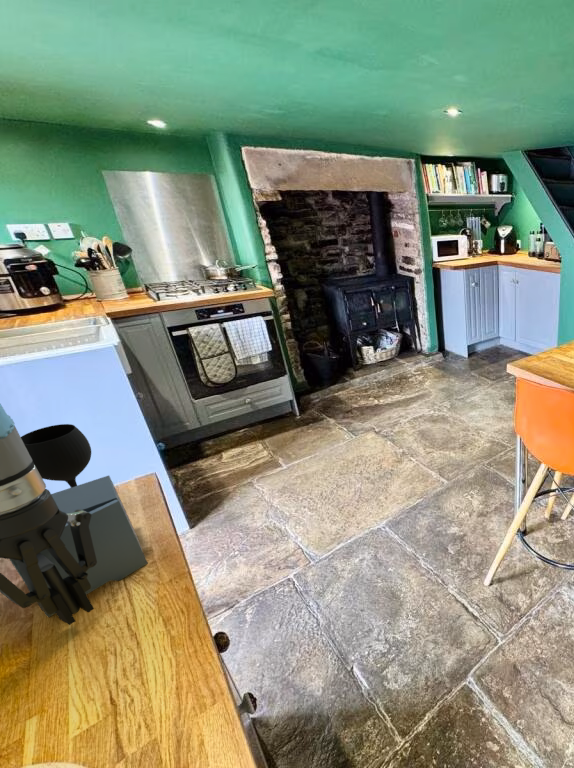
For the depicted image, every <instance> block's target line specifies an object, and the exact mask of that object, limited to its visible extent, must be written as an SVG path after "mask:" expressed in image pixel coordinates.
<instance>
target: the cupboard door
mask: <svg viewBox="0 0 574 768" xmlns="http://www.w3.org/2000/svg"><path fill="white" fill-rule="evenodd" d="M88 513H90V514H91V519H90V523H89V529H90V534H91V538H92V542H93V546H94V551H95V555H96V559H97V564H96V565H95V566H94V567H91V568H89V569H88V570H87V571H86V573H88V576H87V579H88V581H89V583H90V585H91V589H89V590H88V591H86V592H85V594H86V595H87V596H88V594H90V593H92V592H93V591H96V590H97V589H99V588H100V587H102V586H103V585H105V584H107V583H109V582H111V581H122V580H123V579H125V578H126V577H128V576H129V575H131V574H133V573H134V572H136V571H137V570H139V569H141V568H142V567H144V566H146V565H147V564H148V563H149V562H148V560H147V558H146V556H145V553H144V551H143V548H142V546H141V547H140V545H141V544H140V545H139V543H138V541H137V539H136V537H135V534H134V532H133V530H132V528H131V526H130V524H129V522H128V519H127V517H126V515H125V513H124V511H123V509H122V506H121V504H120V502H119V501H118V500H114V501H112V502H110V503H107V504H105V505H103V506H101V507H99V508H97V509H95V510H93V511H91V512H88ZM60 539H61V540H62V542H63V543H64V544H65V547H66V548H67V550H68V551H69V552H70V554H71V555H72V556H73V557H74V559H75V560H76V561H77V563H79V561H78V557H77V552H76V548H75V544H74V540H73V536H72V532H71V528H70V525H68V524H67V523H66V525H65V528H64V530H63V532H62V535H61V537H60ZM141 548H142V549H141ZM142 551H143V552H142ZM143 553H144V554H143ZM36 556H37V559H38V565H39V567H40V570H41V572H42V574H43V577H44V579H45V582H46V584H47V587H48V588H50V589H52V590H54V591H56V592H57V593H59V594H60V596H61V598H62V599H63V601H64V603H65V604H66V606H67V608H68V609H69V611H70V613H71V614H72V616H73V615H75V614H77V613H78V612H79V611H80V609H81V608H80V607H79V605H78V604H77V602H76V600H75V599H74V597H73V595H72V594H71V592H70V590H69V589H68V587H67V585H66V583H65V582H64V580H63V579H64V578H66V577H68V576H69V575H68V574H67V573H66V572H65V571H64V570H63V568H62V567H61V566H60V565H59V563H58V562H57V561H56V560H55V559H54V557H53V556H52V555H51V554H50V552H49V551H48V550H47V549H46V550H43V551H41V552H40V553H39V554H37V555H36ZM9 561H10V562H11V564H12V565H13V567H14V569H15V570H16V572H17V574H18V575H19V576H20V578H21V579H22V581H23V583H24V584H25V585H26V583H25V580H24V578H23V576H22V574H21V571H20V569H19V567H18V564H17V563H16V562H15V560H12V559H9ZM69 577H70V576H69ZM43 613H44V615H45V616H46V617H47V618H50V617H52V616H54V615H56V613H55V612H54V613H53V614H51V615H50V614H47V613H45V612H43Z"/></svg>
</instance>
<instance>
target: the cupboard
mask: <svg viewBox="0 0 574 768" xmlns="http://www.w3.org/2000/svg"><path fill="white" fill-rule="evenodd" d="M51 495H52V497H53V499H54V501H55V502H56V504H57V506H58V508H59V510H60V511H62V512H65V513H73V512H74V511H75V510H78V509H81V510H83V511H86V512H91V511H93V510H95V509H97V508H99V507H101V506H103V505H105V504H107V503H110V502H112V501H114V500H118V501H119V502H120V504H121V506H122V509H123V511H124V513H125V515H126V517H127V519H128V522H129V524H130V526H131V528H132V530H133V532H134V534H135V537H136V539H137V541H138V543H139V545H140V547H141V549H142V552H143V554H144V555H145V553H144V551H143V548H142V545H141V543H140V540H139V536H138V535H137V533H136V530H135V528H134V526H133V523H132V522H131V519H130V517H129V515H128V513H127V510H126V509H125V506H124V504H123V502H122V500H121V498H120V496H119V494H118V491H117V489H116V487H115V485H114V482H113V480H112V478H111V476H110V475H106V476H102V477H100V478H97V479H93V480H91V481H88V482H84V483H81V484H77V486H75V487H72V488H71V487H69V488H66V489H63V490H60V491H56V492H54V493H51Z"/></svg>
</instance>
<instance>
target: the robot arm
mask: <svg viewBox="0 0 574 768" xmlns="http://www.w3.org/2000/svg"><path fill="white" fill-rule="evenodd" d="M15 425H16V424H15V422H14V420H13V418H12V417H11V415H9V414H8V413H7V412H6V410H5V409H4V407H3V405H2V403H0V559H7V560H10V559H12V560H15V562H16V563H17V564H18V567H19V569H20V571H21V574H22V576H23V578H24V580H25V582H24V584H25V583H26V584H25V585H26V587H27V589H28V591H29V592H27V593H25V592H24V591H23V590H21V589H20V588H19V587H18V586H17V585H16V584H15V583H13V581H11V580H10V579H9V578H8V577H7V576H5V575H4V574H2V573H1V572H0V594H2V595H3V596H4V597H6V598H7V599H8V600H9V601H10V602H12V603H13V604H15V605H17V606H18V607H20V608H22V609H27V608H29V607H31V606H32V604H37V605H38V607H39V608H40V610H41V611H42V612H43V613H44V612H45V613H47V614H50V615H51V614H53V613H54V612H55V615H56V616H57V617H58V619H59V621H61V622H64V623H65V624H67V625H69V626H71V625H72V624H74V623H75V622H76V619H75V618H74V616H73V615H72V614H71V613H70V611H69V609H68V608H67V606H66V604H65V603H64V601H63V599H62V598H61V596H60V594H59V593H57V592H56V591H54V590H52V589H50V588H48V587H47V584H46V582H45V579H44V577H43V574H42V572H41V570H40V567H39V565H38V559H37V556H36V555H37V554H39V553H40V552H41V551H43V550H46V549H47V550H48V551H49V552H50V554H51V555H52V556H53V557H54V559H55V560H56V561H57V562H58V563H59V565H60V566H61V567H62V568H63V570H64V571H65V572H66V573H67V574H68V575H69V576H70V577H69V576H68V577H66V578H64V579H63V580H64V582H65V583H66V585H67V587H68V589H69V590H70V592H71V594H72V595H73V597H74V599H75V600H76V602H77V604H78V605H79V607H80V609H81V610H83V611H85V612H86V613H90V612H91V611H93V610H94V609H95V607H94V605H93V603H92V602H91V600H90V599H89V597H88V594H87V595H86V594H85V592H86V591H88V590H89V589H91V585H90V583H89V581H88V579H87V576H88V573H86V571H87V570H88V569H89V568H91V567H94V566H95V565H96V564H97V559H96V555H95V551H94V546H93V542H92V538H91V534H90V529H89V523H90V519H91V514H90V513H88V512H86V511H83V510H81V509H78V510H75V511H74V512H73V513H65V512H62V511H60V510H59V508H58V506H57V504H56V502H55V501H54V499H53V497H52V495H51V494H52V493H51V491H50V490H49V489H47V485H46V482H45V480H44V479H42V477H41V475H40V474H39V472H38V470H37V468H36V467H35V465H34V463H33V461H32V459H31V457H30V455H29V453H28V451H27V449H26V447H25V445H24V443H23V441H22V439H21V437H22V436H21V434H20V433H19V431H18V429H17V427H16V426H15ZM66 523H67V524H68V525H70V528H71V532H72V536H73V540H74V544H75V548H76V552H77V557H78V561H79V563H77V561H76V560H75V559H74V557H73V556H72V555H71V554H70V552H69V551H68V550H67V548H66V547H65V544H64V543H63V542H62V540H61V539H60V537H61V535H62V532H63V530H64V528H65V525H66ZM45 613H44V614H45Z"/></svg>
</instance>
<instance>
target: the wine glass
mask: <svg viewBox="0 0 574 768" xmlns="http://www.w3.org/2000/svg"><path fill="white" fill-rule="evenodd" d="M20 437H21V439H22V441H23V443H24V445H25V447H26V449H27V451H28V453H29V455H30V457H31V459H32V461H33V463H34V465H35V467H36V468H37V470H38V472H39V474H40V475H41V477H42V479H43V480H47V481H54V482H55V481H56V482H66V483H67V485H69V488H72V487H75V486H78V483H77V480H76V479H77V477H78V476H79V475H80V474H81V473H83V471H84V470H85V469H86V468H87V467H88V465H89V463H90V461H91V458H92V448H91V444H90V442H89V440H88V438H87V437H86V435H84V433H83V432H82V431H81V430H80V429H79V428H78V427H77V426H75V425H74V424H70V423H62V424H55V425H50V426H45V427H41V428H38V429H35V430H32V431H30V432H28V433H24V434H23V435H22V436H20Z"/></svg>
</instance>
